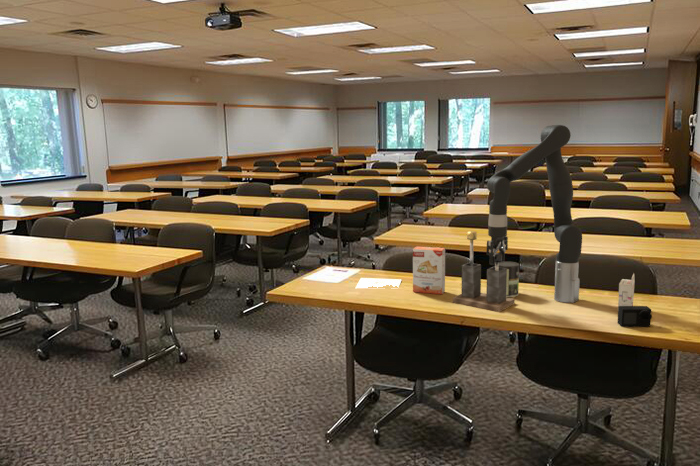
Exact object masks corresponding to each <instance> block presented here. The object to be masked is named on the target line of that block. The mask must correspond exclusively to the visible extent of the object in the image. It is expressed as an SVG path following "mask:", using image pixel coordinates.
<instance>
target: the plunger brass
mask: <svg viewBox="0 0 700 466" xmlns="http://www.w3.org/2000/svg"><path fill="white" fill-rule="evenodd" d="M477 233H478V232H477V231H473V230H471V231H470V230H469V231H467V232H466V240H469V263H470V266H471V267H473V263H474V241H475V240H477V238H478V237H477V235H478V234H477Z"/></svg>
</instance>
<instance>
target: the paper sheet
mask: <svg viewBox="0 0 700 466" xmlns="http://www.w3.org/2000/svg"><path fill="white" fill-rule="evenodd" d="M402 281H403V280H402V279H401V278H399V279H398V278H397V279H395V278H373V277H372V278H371V277H360V279H359V281H358V282H357V284H356V286H355V288H354V289H369V288H368V287H372V286H373V287H377V288H376V289H379V288H378V287H383V286H386V285H389V286H390V285H392V286H393V287H395V286H397V287H398V288H399V287H400V285H401V282H402Z"/></svg>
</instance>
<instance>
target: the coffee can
mask: <svg viewBox="0 0 700 466" xmlns="http://www.w3.org/2000/svg"><path fill="white" fill-rule="evenodd" d="M499 267H500V268H507V280H506V298H515V297H518V296H519V294H520V293H519V284H520V281H519V280H520V263H519V262H515V261H507V260H506V261H505V260H504V261H502V262H499Z"/></svg>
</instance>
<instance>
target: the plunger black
mask: <svg viewBox="0 0 700 466" xmlns="http://www.w3.org/2000/svg"><path fill="white" fill-rule="evenodd" d="M499 262H503V261H502V254H501V253H499V252H496V254H495V265H494V267H495V270H497V271H499Z"/></svg>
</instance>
